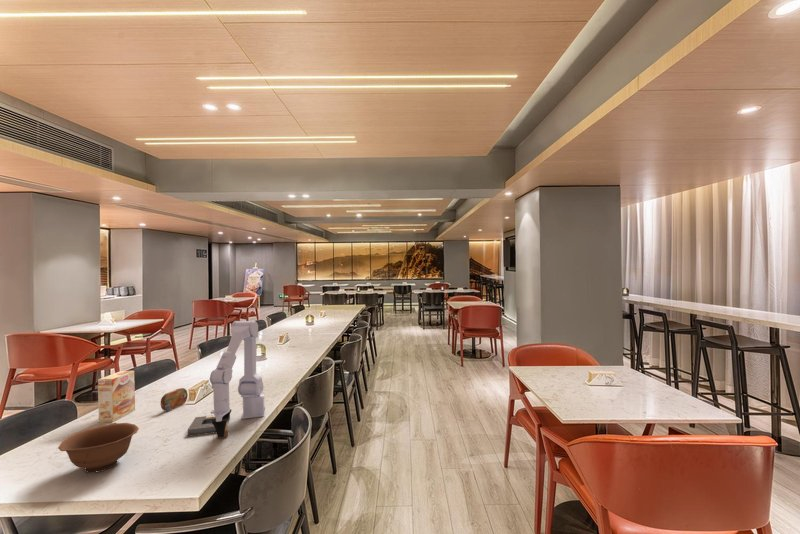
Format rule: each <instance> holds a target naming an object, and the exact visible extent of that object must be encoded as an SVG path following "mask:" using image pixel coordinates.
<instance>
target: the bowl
mask: <svg viewBox="0 0 800 534" xmlns="http://www.w3.org/2000/svg"><path fill="white" fill-rule="evenodd" d="M113 423H114V424H111V423H109V424H104V425H99V426H95V427H91V428H88V429H87V428H86V429H84V430H81V431H79V432H76V433H74V434H71V435H70V436H68V437H66V438H65V439H63V440H62V441H61V443H60V445H59V446H58V447H57V449H58V450H59V451H60V452H66V454H67V457H68V458H69V461H70V462H71V463H72V464H73V465H74V466H75V467H77V468H82V469H84V471H85V470H86V471H88V472H87V473H89V472H94V473H97V472H96V471H100V472H103V471H106V470H109V469H111V468H112V467H113V468H114V466H116V464H118V461H119V460H120V459H121V458H123V456H125V455H126V454H127V452H128V451H129V447H130V446H131V441H132V438H133V436H134V435H136V434H137V433H138V431H139V430H140V429H139V427H138V426H137V425H136V424H135V423H129V422H119V423H118V422H113ZM85 468H86V469H85ZM102 470H103V471H102ZM86 471H85V472H86Z"/></svg>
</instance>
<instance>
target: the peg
mask: <svg viewBox="0 0 800 534" xmlns="http://www.w3.org/2000/svg"><path fill="white" fill-rule="evenodd" d="M228 437H229V423H228V421H227V423H226V426H225V434H224V437H219V438H218V436H217V435H216V439H217V438H218V439H217V440H224V438H225V439H227V438H228Z"/></svg>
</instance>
